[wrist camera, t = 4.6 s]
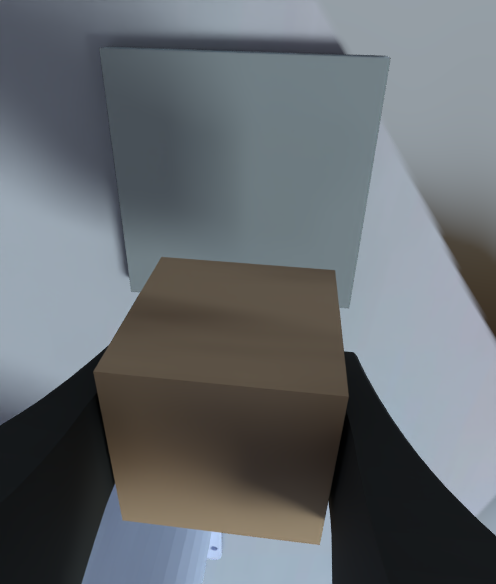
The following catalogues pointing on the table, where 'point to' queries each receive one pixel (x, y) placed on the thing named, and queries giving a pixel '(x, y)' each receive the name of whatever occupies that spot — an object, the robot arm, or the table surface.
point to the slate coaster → (243, 155)
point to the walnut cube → (227, 399)
